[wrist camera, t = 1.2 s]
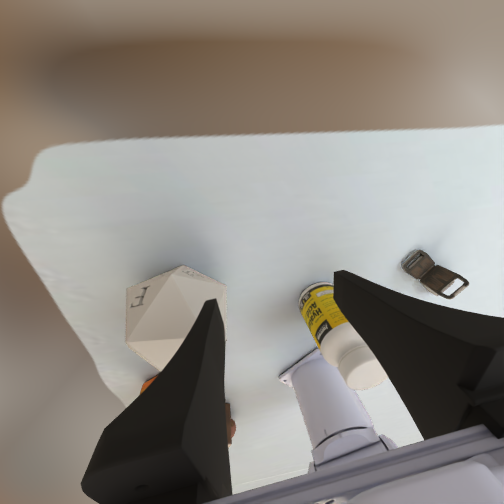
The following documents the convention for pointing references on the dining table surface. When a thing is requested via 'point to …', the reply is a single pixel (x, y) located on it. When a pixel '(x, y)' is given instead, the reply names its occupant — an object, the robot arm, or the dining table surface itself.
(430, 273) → the strap clip
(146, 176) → the dining table surface
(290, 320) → the dining table surface
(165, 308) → the die
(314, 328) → the supplement bottle
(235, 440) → the dining table surface
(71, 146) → the dining table surface
